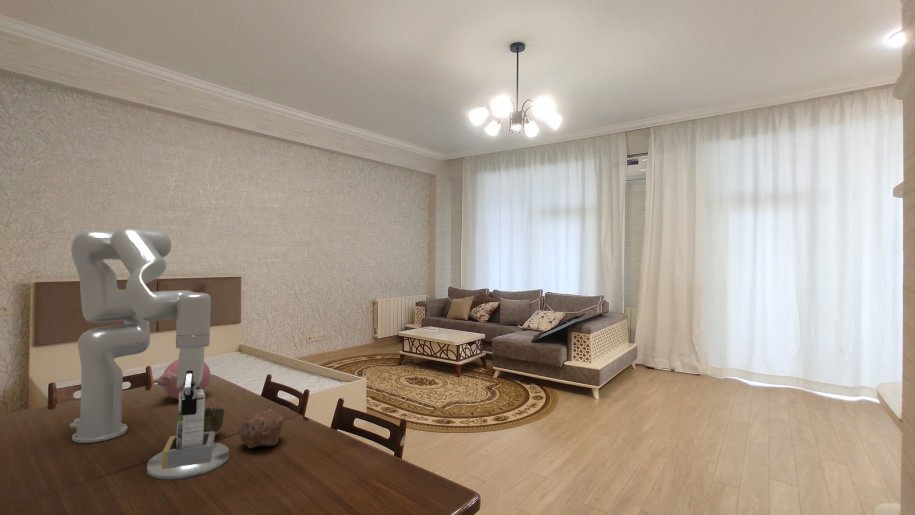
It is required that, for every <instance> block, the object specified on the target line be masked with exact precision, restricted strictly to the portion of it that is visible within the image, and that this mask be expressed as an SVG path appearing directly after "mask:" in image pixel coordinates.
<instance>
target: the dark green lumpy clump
mask: <svg viewBox="0 0 915 515" xmlns="http://www.w3.org/2000/svg"><path fill="white" fill-rule="evenodd" d="M225 410H226V409H225V408H224V407H219V406H218V407H217V408H216V407H215V406H213V407H212V408H211V407H209V406H208V407H206V408H205V410H204V432H211V431H215V438H216V437H217V435H218V434H217V432H219V431H220V430H221V429H222V427H223V423H224V418H225V417H224V416H225Z"/></svg>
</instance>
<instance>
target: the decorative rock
mask: <svg viewBox="0 0 915 515" xmlns="http://www.w3.org/2000/svg"><path fill="white" fill-rule="evenodd" d="M283 422H284V418H283V417H282V416H281V415H280V414H279V413H278V412H276V411H275V410H273V409H270V408H269V409H267V410H265V409H263V410H260V411H258V412H256V411H255V412H253V413H252V414H251V415H246V417H245V418H244V419H243V420H242V422H241V423H240V424H239V426H238V430H237V431H238V432H237V433H238V434H239V437H240V440H241V441H242V442H243V443H245V446H246V447H247V448H248V449H253V448H255V447H257V448H258V447H262V446H263V447H274V446H275V445H277V444H278V442H279V440H280V436H281V433H282V426H283Z"/></svg>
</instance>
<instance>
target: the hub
mask: <svg viewBox="0 0 915 515" xmlns="http://www.w3.org/2000/svg"><path fill="white" fill-rule="evenodd" d="M215 438H216V437H215V431H211V432H203V445H202V446H194V447H186V448H179V449H176V443H177V435H171V436H169V438H168V440H167V442H166V443H165V445H164V448H163V451H161V452H159V453H157V454H155V455H154V456H153V457H151V458H150V459H149V460H148V462H147V464H146V474H147V475H148V476H149V477H151V478H153V479H157V480H161V481H162V480H163V481H165V480H166V481H169V480H170V481H171V480H172V481H173V480H175V481H177V480H185V479H189V478H194V477H198V476H201V475H204V474H207V473H210V472H213V471H215V470H216V469H218V468H220V467H221V466H223V465H224V464H225V463H226V462H227V461H228V459H229V456H230V453H229V451H230V450H229V447H228V446H227V445H226V444H224V443H223V444H222V443H221V442H220V443H219V442H215Z"/></svg>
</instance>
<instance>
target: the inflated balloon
mask: <svg viewBox="0 0 915 515" xmlns="http://www.w3.org/2000/svg"><path fill="white" fill-rule="evenodd" d="M178 360H179V358H178V359H176V360H174V361H173V362H171V363H170V364H168V366H167V367H166V368H165V370H164V372H163V373H162V375H160V376H159V377H157V378H154V379H153V380H152V384H156V383H157V386H161V387H162V389H163V391H164V392H165V394H166V395H167V396H168V397H171V399H174V400H177V401H179V392H182V391H183V386H184V384H183V386H182V387H180V388H179V389H178V388H177V374H178ZM211 375H212V374H211V370H210V367H209V366H208V365H207V363H206V362H205V361H204V367H203V376H202V380H201V382H200V389H203V390H204V391H205V390H206V389H207V388H208V386H209V385H210V382H211V381H210V380H211Z"/></svg>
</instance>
